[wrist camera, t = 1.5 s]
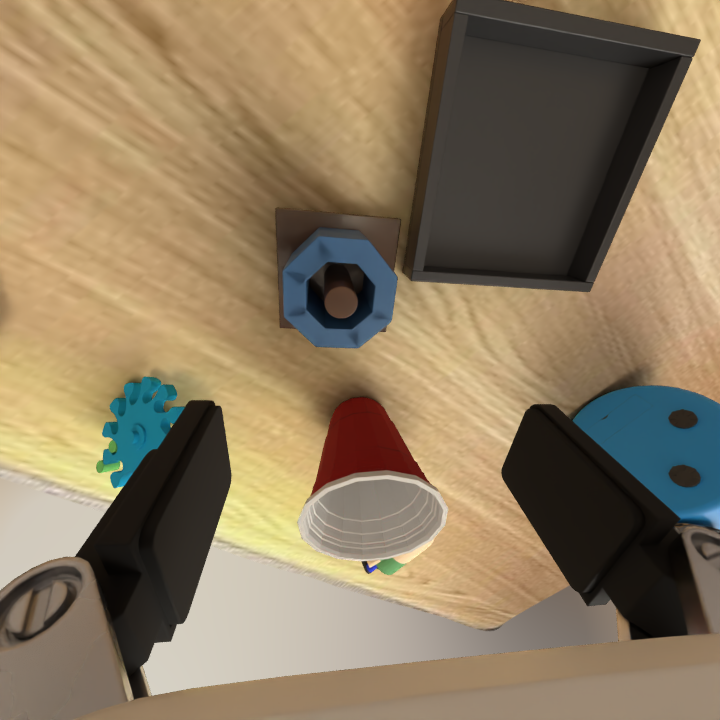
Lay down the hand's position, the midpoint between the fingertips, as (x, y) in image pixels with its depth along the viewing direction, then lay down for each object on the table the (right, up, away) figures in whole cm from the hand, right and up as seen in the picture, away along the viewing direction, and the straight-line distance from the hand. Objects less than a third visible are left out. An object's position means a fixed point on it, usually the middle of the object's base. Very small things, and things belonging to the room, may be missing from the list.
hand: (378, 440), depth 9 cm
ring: (-2, +9, +15) cm, 17 cm away
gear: (-20, -2, +20) cm, 28 cm away
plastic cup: (-1, -4, +23) cm, 23 cm away
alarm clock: (+27, -4, +26) cm, 38 cm away
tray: (+11, +16, +13) cm, 24 cm away
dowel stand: (-3, +9, +15) cm, 18 cm away
